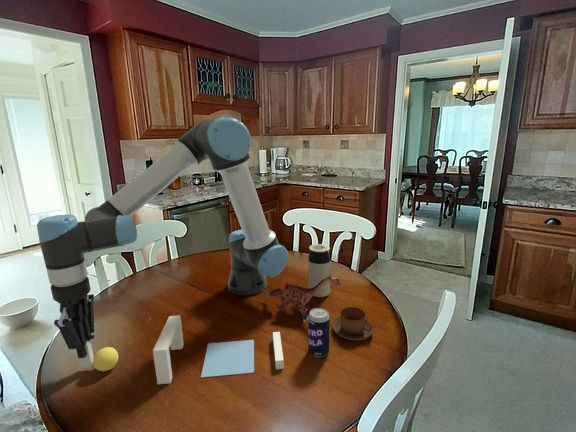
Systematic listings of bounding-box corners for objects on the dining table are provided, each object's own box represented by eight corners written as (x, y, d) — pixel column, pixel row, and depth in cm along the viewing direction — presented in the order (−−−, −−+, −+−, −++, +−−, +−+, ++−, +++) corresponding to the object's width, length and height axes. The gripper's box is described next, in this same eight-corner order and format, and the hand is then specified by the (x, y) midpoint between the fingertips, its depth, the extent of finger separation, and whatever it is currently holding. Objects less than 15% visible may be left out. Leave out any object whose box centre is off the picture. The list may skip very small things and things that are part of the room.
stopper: (279, 339, 90) (279, 331, 90) (283, 368, 79) (283, 360, 78) (273, 339, 90) (272, 332, 90) (275, 369, 79) (275, 360, 78)
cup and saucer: (374, 324, 97) (375, 306, 96) (371, 348, 86) (372, 328, 85) (336, 317, 101) (336, 300, 100) (328, 340, 90) (328, 321, 89)
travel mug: (305, 295, 115) (305, 249, 111) (312, 286, 122) (312, 242, 118) (326, 299, 112) (327, 252, 108) (332, 289, 119) (332, 245, 115)
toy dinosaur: (337, 329, 95) (338, 284, 91) (252, 309, 107) (249, 268, 103) (344, 315, 102) (345, 272, 99) (263, 297, 114) (262, 259, 111)
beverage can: (306, 346, 87) (306, 307, 84) (326, 344, 88) (327, 306, 85) (309, 360, 82) (309, 319, 79) (331, 358, 82) (331, 318, 79)
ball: (123, 359, 83) (120, 341, 82) (114, 375, 78) (110, 355, 76) (101, 361, 83) (97, 343, 81) (90, 377, 77) (86, 357, 76)
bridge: (183, 344, 89) (180, 315, 87) (170, 383, 75) (166, 349, 73) (172, 345, 89) (169, 316, 86) (157, 384, 75) (152, 350, 72)
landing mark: (253, 340, 90) (253, 339, 90) (254, 372, 78) (254, 372, 78) (208, 344, 89) (208, 343, 89) (200, 377, 76) (200, 377, 76)
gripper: (68, 269, 80) (85, 349, 86) (33, 294, 67) (56, 385, 73) (99, 268, 80) (114, 347, 86) (70, 292, 68) (89, 382, 74)
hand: (87, 364), depth 80 cm, fingers closed
